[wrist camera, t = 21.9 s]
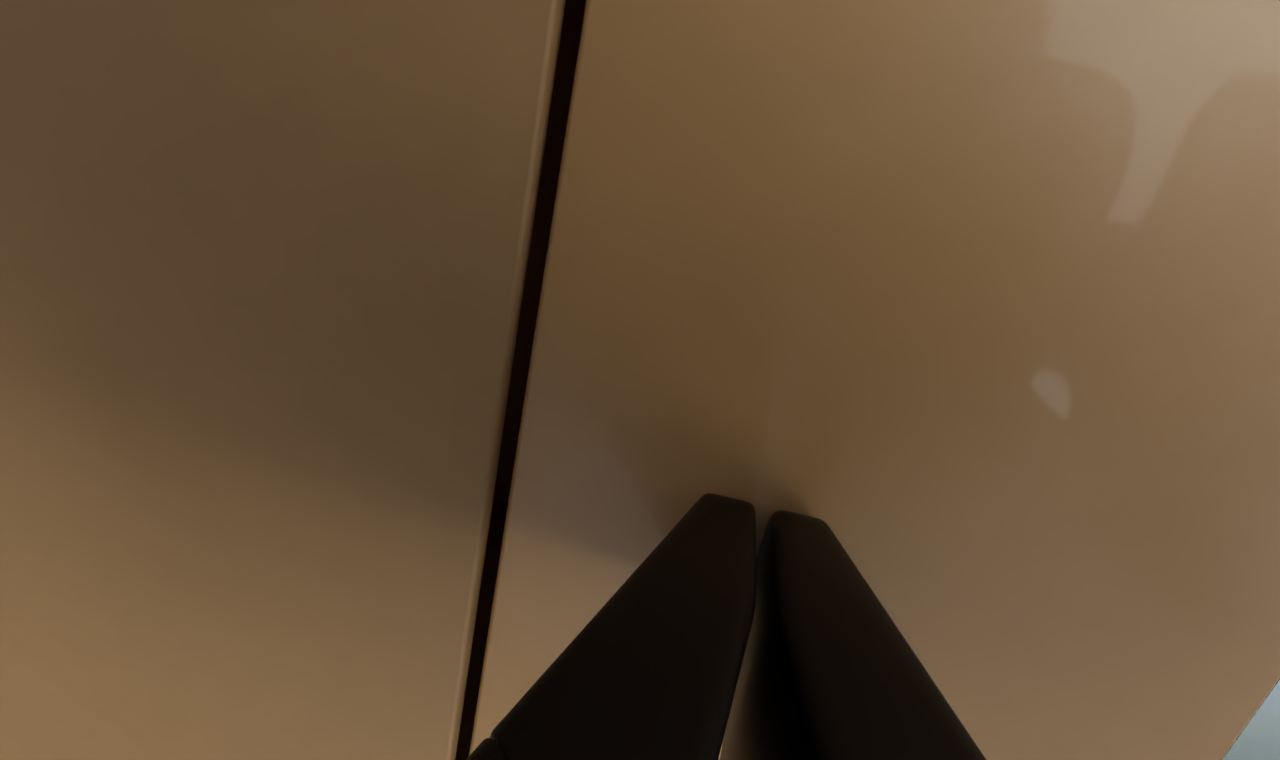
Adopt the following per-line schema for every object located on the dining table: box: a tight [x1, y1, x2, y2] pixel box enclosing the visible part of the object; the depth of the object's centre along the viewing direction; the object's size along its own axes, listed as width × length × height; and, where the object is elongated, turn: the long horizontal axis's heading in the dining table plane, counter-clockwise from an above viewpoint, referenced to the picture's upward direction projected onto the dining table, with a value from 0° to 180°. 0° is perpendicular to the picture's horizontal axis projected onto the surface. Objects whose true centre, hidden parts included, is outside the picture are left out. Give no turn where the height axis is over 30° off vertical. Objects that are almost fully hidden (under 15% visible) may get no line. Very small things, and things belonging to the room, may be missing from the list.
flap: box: [469, 0, 1280, 760], centre depth 8 cm, size 15×6×1 cm, turn 169°
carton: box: [0, 0, 586, 760], centre depth 12 cm, size 15×13×9 cm
